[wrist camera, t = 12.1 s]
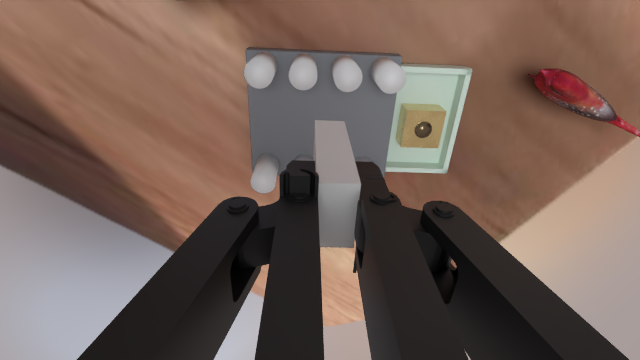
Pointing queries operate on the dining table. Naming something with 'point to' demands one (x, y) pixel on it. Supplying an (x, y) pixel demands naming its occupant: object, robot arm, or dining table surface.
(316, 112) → the board
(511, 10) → the dining table surface
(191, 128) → the dining table surface
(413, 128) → the gold block with knob
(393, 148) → the tray
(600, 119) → the decorative bird figurine
